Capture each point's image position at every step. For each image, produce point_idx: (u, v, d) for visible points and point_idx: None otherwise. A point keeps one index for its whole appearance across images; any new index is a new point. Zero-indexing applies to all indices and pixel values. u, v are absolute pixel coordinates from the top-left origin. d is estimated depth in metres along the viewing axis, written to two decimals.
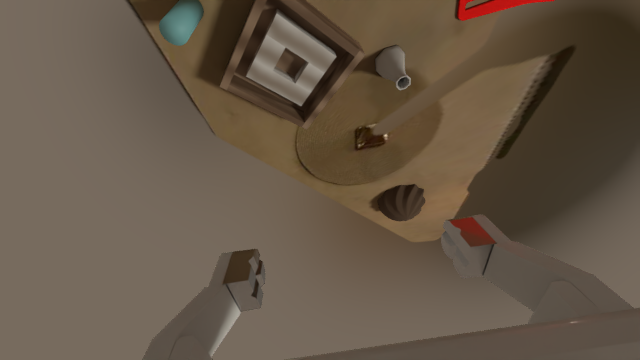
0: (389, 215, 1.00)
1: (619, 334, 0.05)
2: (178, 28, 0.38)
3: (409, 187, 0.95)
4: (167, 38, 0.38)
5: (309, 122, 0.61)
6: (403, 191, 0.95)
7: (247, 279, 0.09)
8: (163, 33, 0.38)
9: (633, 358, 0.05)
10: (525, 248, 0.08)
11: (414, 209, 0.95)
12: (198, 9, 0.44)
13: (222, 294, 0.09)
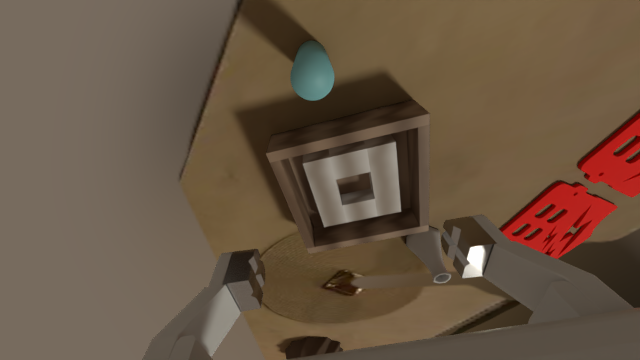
0: None
1: (619, 334, 0.05)
2: (322, 81, 0.22)
3: (334, 344, 0.80)
4: (294, 76, 0.22)
5: (319, 249, 0.45)
6: (326, 346, 0.78)
7: (247, 279, 0.09)
8: (296, 67, 0.22)
9: (633, 358, 0.05)
10: (525, 248, 0.08)
11: None
12: None
13: (222, 294, 0.09)
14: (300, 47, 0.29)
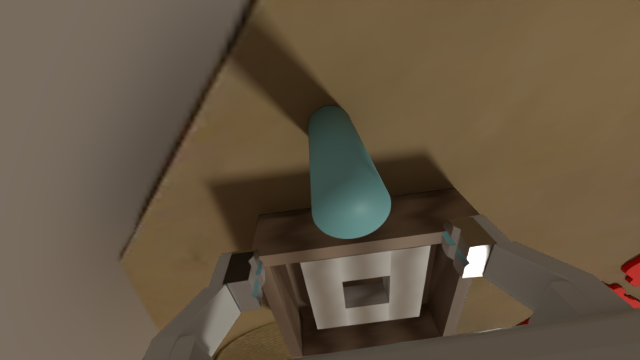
0: None
1: (619, 334, 0.05)
2: (368, 214, 0.12)
3: None
4: (319, 205, 0.12)
5: None
6: None
7: (247, 279, 0.09)
8: (326, 192, 0.12)
9: (633, 358, 0.05)
10: (525, 248, 0.08)
11: None
12: None
13: (222, 294, 0.09)
14: (318, 118, 0.20)
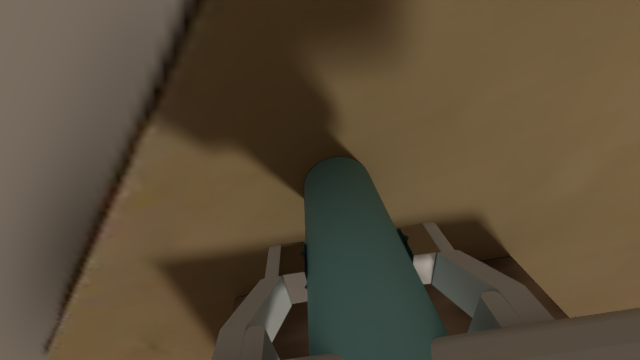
0: None
1: (619, 334, 0.05)
2: None
3: None
4: None
5: None
6: None
7: (303, 271, 0.09)
8: None
9: (633, 358, 0.05)
10: (466, 257, 0.08)
11: None
12: None
13: (279, 286, 0.09)
14: (320, 185, 0.12)
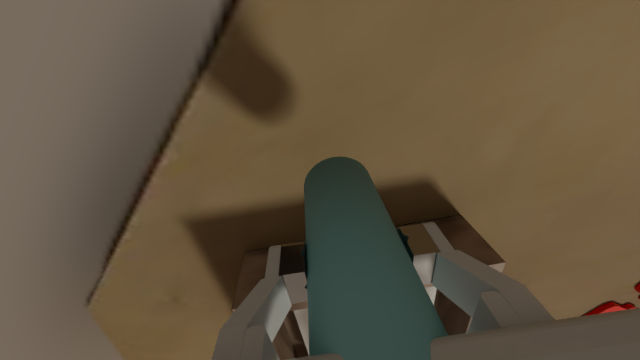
0: None
1: (619, 334, 0.05)
2: None
3: None
4: None
5: None
6: None
7: (303, 271, 0.09)
8: None
9: (633, 358, 0.05)
10: (466, 257, 0.08)
11: None
12: None
13: (279, 286, 0.09)
14: (320, 185, 0.12)
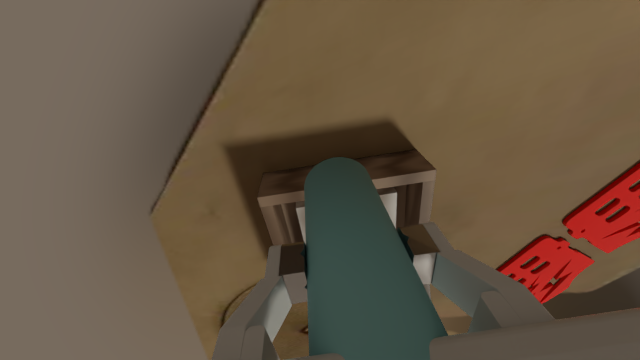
0: None
1: (619, 334, 0.05)
2: None
3: None
4: None
5: None
6: None
7: (303, 271, 0.09)
8: None
9: (633, 358, 0.05)
10: (466, 257, 0.08)
11: None
12: None
13: (279, 285, 0.09)
14: (320, 185, 0.12)
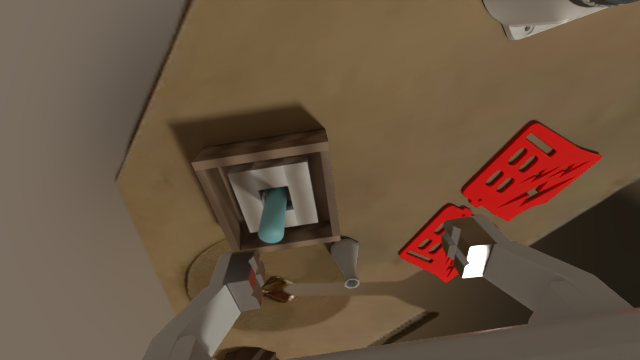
0: None
1: (619, 334, 0.05)
2: (276, 235, 0.38)
3: (268, 355, 0.82)
4: (260, 232, 0.38)
5: None
6: (259, 357, 0.80)
7: (247, 279, 0.09)
8: (261, 229, 0.37)
9: (633, 358, 0.05)
10: (525, 248, 0.08)
11: None
12: None
13: (222, 294, 0.09)
14: (269, 191, 0.45)
